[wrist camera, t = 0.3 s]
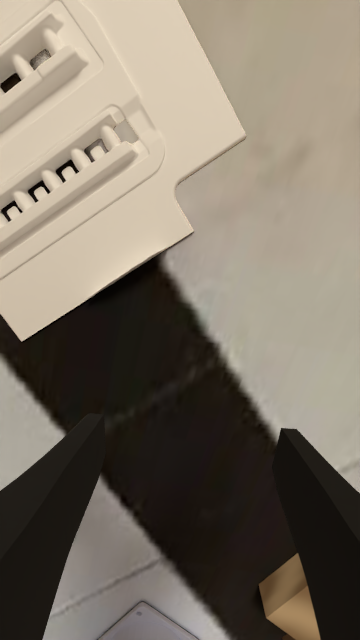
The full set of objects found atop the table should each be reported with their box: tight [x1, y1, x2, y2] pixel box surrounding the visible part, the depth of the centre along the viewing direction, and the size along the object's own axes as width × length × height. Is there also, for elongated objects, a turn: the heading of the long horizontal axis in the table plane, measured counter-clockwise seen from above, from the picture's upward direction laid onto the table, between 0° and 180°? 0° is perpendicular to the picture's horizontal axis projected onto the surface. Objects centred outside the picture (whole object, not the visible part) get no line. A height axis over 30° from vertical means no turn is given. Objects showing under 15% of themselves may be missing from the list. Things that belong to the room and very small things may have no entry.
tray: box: [0, 0, 246, 342], centre depth 18 cm, size 20×28×4 cm
